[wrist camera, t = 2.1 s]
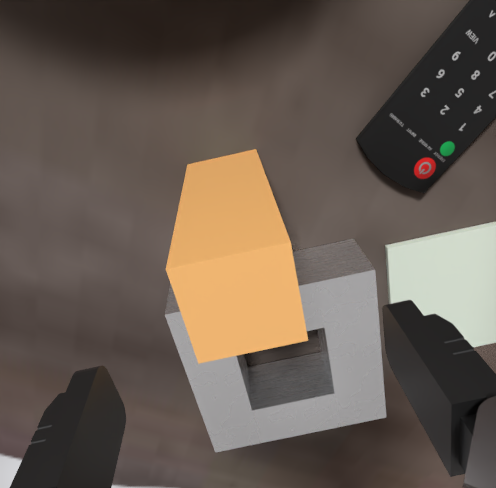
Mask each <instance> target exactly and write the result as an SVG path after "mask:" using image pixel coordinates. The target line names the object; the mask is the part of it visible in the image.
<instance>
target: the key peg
mask: <svg viewBox="0 0 496 488" xmlns="http://www.w3.org/2000/svg"><path fill="white" fill-rule="evenodd" d="M166 271H167V274H168V277H169V280H170V283H171V286H172V288H173V291H174V294H175V297H176V300H177V303H178V306H179V309H180V312H181V315H182V317H183V320H184V323H185V326H186V329H187V332H188V335H189V338H190V341H191V344H192V346H193V349H194V352H195V355H196V358H197V361H198V364H199V363H204V362H209V361H214V360H218V359H223V358H228V357H233V356H237V355H242V354H247V353H252V352H256V351H261V350H266V349H271V348H275V347H280V346H285V345H289V344H294V343H299V342H304V341H308V336H307V331H306V325H305V319H304V314H303V308H302V303H301V297H300V291H299V286H298V280H297V275H296V269H295V264H294V258H293V252H292V247H291V242H290V239H289V236H288V234H287V231H286V228H285V226H284V223H283V220H282V218H281V215H280V212H279V209H278V207H277V204H276V201H275V199H274V196H273V193H272V191H271V188H270V185H269V183H268V180H267V177H266V175H265V172H264V169H263V167H262V164H261V161H260V158H259V156H258V153H257V150H256V149H254V150H250V151H245V152H241V153H237V154H232V155H228V156H223V157H219V158H214V159H210V160H205V161H201V162H196V163H192V164H188V165H187V170H186V174H185V179H184V184H183V189H182V194H181V199H180V204H179V208H178V213H177V218H176V223H175V228H174V233H173V237H172V242H171V247H170V252H169V257H168V262H167V266H166Z"/></svg>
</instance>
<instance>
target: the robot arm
mask: <svg viewBox="0 0 496 488" xmlns="http://www.w3.org/2000/svg"><path fill="white" fill-rule="evenodd" d="M383 324H384V337H385V349H386V354H387V358H388V361H389V364H390V366H391V368H392V370H393V372H394V374H395V376H396V378H397V380H398V382H399V383H400V385H401V387H402V389H403V391H404V392H405V394H406V396H407V398H408V400H409V402H410V403H411V405H412V407H413V409H414V411H415V413H416V414H417V416H418V418H419V420H420V422H421V424H422V425H423V427H424V429H425V431H426V433H427V435H428V436H429V438H430V440H431V442H432V444H433V446H434V447H435V449H436V451H437V453H438V455H439V457H440V458H441V460H442V462H443V464H444V466H445V468H446V469H447V471H448V473H449V475H450V477H451V476H456V475H461V474H465V479H464V484H463V488H496V374H495V373H494V372H493V370H492V369H491V368H490V367H489V366H488V365H487V363H486V362H485V361H484V360H483V359H482V358H481V356H480V355H479V354H478V353H477V352H476V351H474V349H473V347H472V346H471V345H470V343H469V342H468V341H467V340H465V339H464V336H463V335H462V334H461V333H460V332H459V331H458V329H457V328H456V327H455V326H454V325H453V323H451V322H449V321H447V320H446V319H444V318H442V317H440V316H439V315H437V314H430V315H426V316H424V315H423V314H422V313H421V311H420V310H419V309H418V307H417V306H416V305H415V303H414V302H413V301H412V300H406V301H401V302H397V303H392V304H388V305H384V306H383ZM125 424H126V414H125V408H124V404H123V402H122V400H121V398H120V395H119V393H118V391H117V389H116V387H115V385H114V383H113V381H112V379H111V377H110V375H109V372H108V371H107V369H106V368H105V367H104V366H98V367H94V368H89V369H85V370H80V371H76V372H75V373H74V374H73V376H72V379H71V381H70V383H69V386H68V388H67V390H66V392H65V393H61V394H59V395H58V396H57V397H56V398H55V399H54V400H53V402H52V403H51V404H50V405H49V406H48V407H47V409H46V410H45V412H44V414H43V416H42V418H41V420H40V423H39V425H38V427H37V428H38V430H37V431H35V434H34V436H33V438H32V440H31V445H29V447H28V449H27V451H26V453H25V456H24V458H23V460H22V462H21V465H20V467H19V469H18V471H17V473H16V475H15V478H14V480H13V482H12V484H11V486H10V488H111V486H112V482H113V477H114V473H115V469H116V464H117V460H118V455H119V451H120V447H121V442H122V438H123V434H124V429H125Z"/></svg>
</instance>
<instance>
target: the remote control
mask: <svg viewBox="0 0 496 488" xmlns="http://www.w3.org/2000/svg"><path fill="white" fill-rule="evenodd" d="M495 117H496V0H470V1H469V2H468V3H467V4H466V6H465V7H464V8H463V9H462V10H461V12H460V13H459V14H458V15H457V16H456V18H455V19H454V20H453V21H452V23H451V24H450V25H449V26H448V27H447V29H446V30H445V31H444V32H443V33H442V35H441V36H440V37H439V38H438V40H437V41H436V42H435V43H434V44H433V46H432V47H431V48H430V49H429V50H428V52H427V53H426V54H425V55H424V57H423V58H422V59H421V60H420V61H419V63H418V64H417V65H416V66H415V67H414V69H413V70H412V71H411V72H410V73H409V75H408V76H407V77H406V78H405V80H404V81H403V82H402V83H401V84H400V86H399V87H398V88H397V89H396V90H395V92H394V93H393V94H392V95H391V97H390V98H389V99H388V100H387V101H386V103H385V104H384V105H383V106H382V107H381V109H380V110H379V111H378V112H377V114H376V115H375V116H374V117H373V118H372V120H371V121H370V122H369V123H368V124H367V126H366V127H365V128H364V129H363V131H362V132H361V133H360V134H359V135H358V137H357V138H356V139H357V141H358V143H359V145H360V146H361V148H362V150H363V151H364V153H365V155H366V156H367V158H368V159H369V160H370V161H371V162H372V163H373V164H374V165H375V166H376V167H377V168H378V169H379V170H380V171H381V172H382V173H383V174H384V175H386V176H387V177H389V178H390V179H392V180H394V181H395V182H397V183H399V184H400V185H402V186H404V187H407V188H410V189H413V190H416V191H419V192H422V193H425V192H426V191H427V190H428V188H429V187H430V186H431V185H432V184H433V183H434V182H435V181H436V180H437V179H438V178H439V177H440V176H441V175H442V174H443V172H444V171H445V170H446V169H447V168H448V167H449V166H450V165H451V164H452V163H453V162H454V161H455V160H456V159H457V157H458V156H459V155H460V154H461V153H462V152H463V151H464V150H465V149H466V148H467V147H468V146H469V145H470V144H471V143H472V141H473V140H474V139H475V138H476V137H477V136H478V135H479V134H480V133H481V132H482V131H483V130H484V129H485V128H486V126H487V125H488V124H489V123H490V122H491V121H492V120H493V119H494V118H495Z"/></svg>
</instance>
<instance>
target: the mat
mask: <svg viewBox="0 0 496 488" xmlns="http://www.w3.org/2000/svg"><path fill="white" fill-rule="evenodd" d="M385 251H386V267H387V283H388V299H389V304H392V303H397V302H401V301H406V300H412V301H413V302H414V303H415V305H416V306H417V307H418V309H419V310H420V311H421V313H422V314H423V315H424V316H426V315H430V314H437V315H439V316H440V317H442V318H444V319H446V320H447V321H449V322H451V323H453V325H454V326H455V327H456V328H457V329H458V331H459V332H460V333H461V334H462V335H463V336H464V339H465V340H467V341H468V342H469V343H470V345H471V346H472V347H477V346H482V345H487V344H491V343H496V222H491V223H486V224H482V225H477V226H472V227H468V228H463V229H459V230H454V231H449V232H445V233H440V234H435V235H431V236H426V237H422V238H417V239H412V240H408V241H403V242H398V243H394V244H389V245H385Z"/></svg>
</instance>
